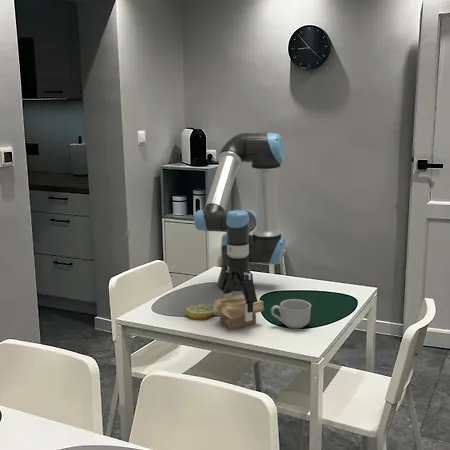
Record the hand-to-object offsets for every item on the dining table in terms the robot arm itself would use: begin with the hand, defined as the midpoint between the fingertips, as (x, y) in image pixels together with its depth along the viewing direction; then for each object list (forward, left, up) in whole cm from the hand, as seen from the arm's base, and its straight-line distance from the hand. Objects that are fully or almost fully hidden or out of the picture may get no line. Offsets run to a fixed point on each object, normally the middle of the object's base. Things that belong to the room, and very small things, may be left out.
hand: (238, 315), depth 214 cm
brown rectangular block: (0, 0, -3) cm, 3 cm away
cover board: (0, 0, +2) cm, 2 cm away
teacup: (+12, +14, -3) cm, 19 cm away
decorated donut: (-15, -6, -3) cm, 17 cm away
